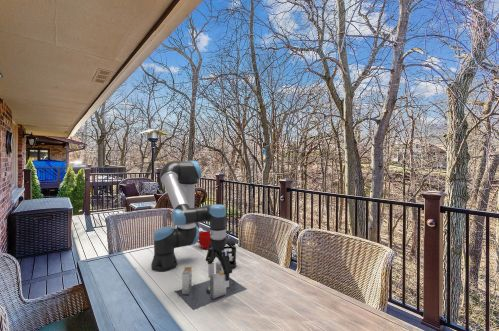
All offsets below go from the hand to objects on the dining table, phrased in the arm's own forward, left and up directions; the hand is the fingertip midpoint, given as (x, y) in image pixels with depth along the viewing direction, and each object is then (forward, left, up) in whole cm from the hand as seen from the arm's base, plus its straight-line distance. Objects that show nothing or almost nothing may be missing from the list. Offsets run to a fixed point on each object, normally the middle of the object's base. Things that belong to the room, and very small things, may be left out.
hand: (218, 281), depth 133 cm
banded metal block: (0, 0, -7) cm, 7 cm away
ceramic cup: (-66, +28, -9) cm, 72 cm away
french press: (-25, +23, -9) cm, 35 cm away
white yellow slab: (-13, +10, -7) cm, 18 cm away
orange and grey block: (-13, -10, -7) cm, 18 cm away
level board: (-7, 0, -8) cm, 11 cm away
